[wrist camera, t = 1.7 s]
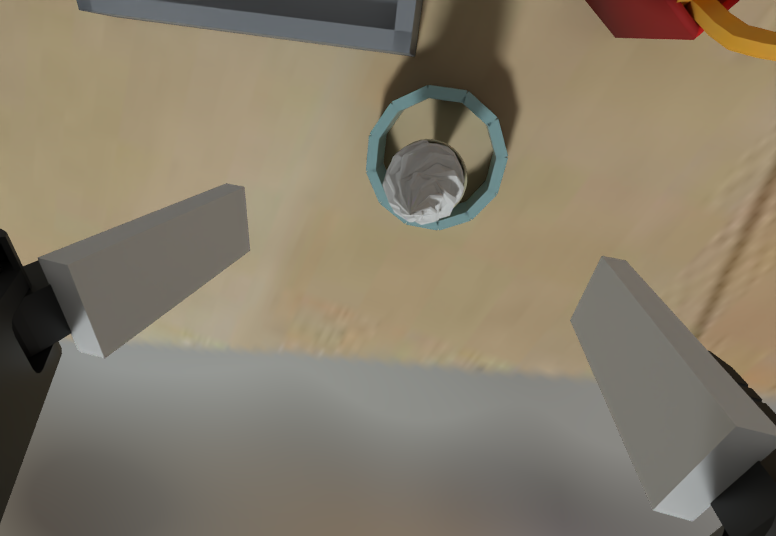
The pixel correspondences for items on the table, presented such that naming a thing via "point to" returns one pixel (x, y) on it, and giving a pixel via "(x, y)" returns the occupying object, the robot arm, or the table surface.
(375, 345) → the table surface
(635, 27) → the french fries
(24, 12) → the table surface
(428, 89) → the teal ring
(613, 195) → the table surface
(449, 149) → the soft serve swirl
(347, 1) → the tray
